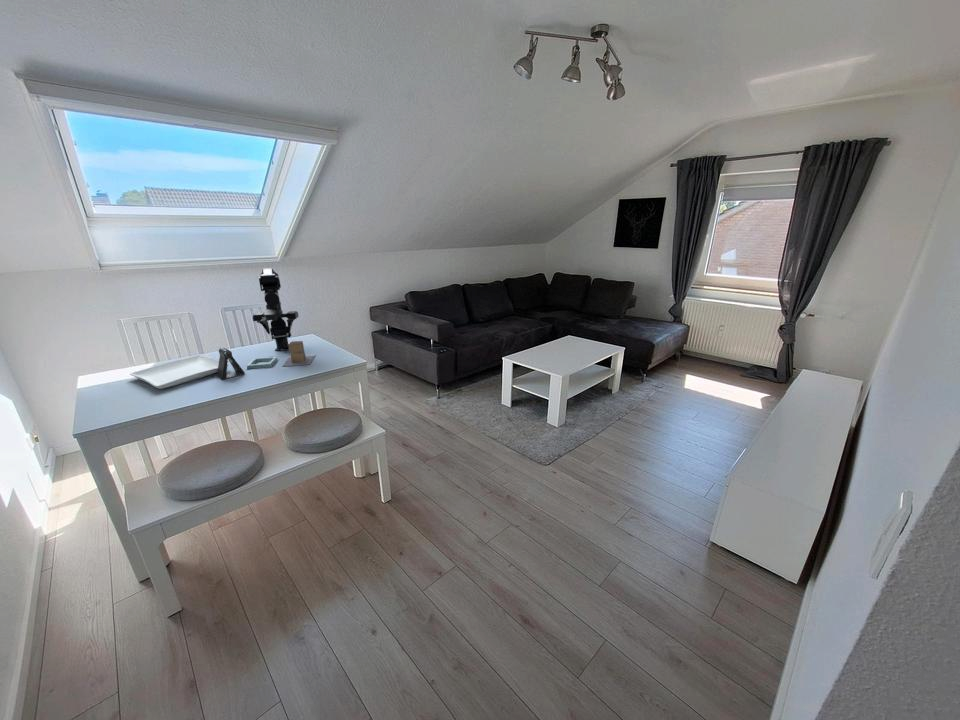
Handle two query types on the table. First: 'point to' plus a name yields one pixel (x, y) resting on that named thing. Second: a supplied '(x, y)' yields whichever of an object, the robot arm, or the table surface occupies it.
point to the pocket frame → (253, 365)
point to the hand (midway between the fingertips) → (279, 333)
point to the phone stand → (223, 365)
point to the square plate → (178, 371)
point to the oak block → (297, 351)
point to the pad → (306, 362)
